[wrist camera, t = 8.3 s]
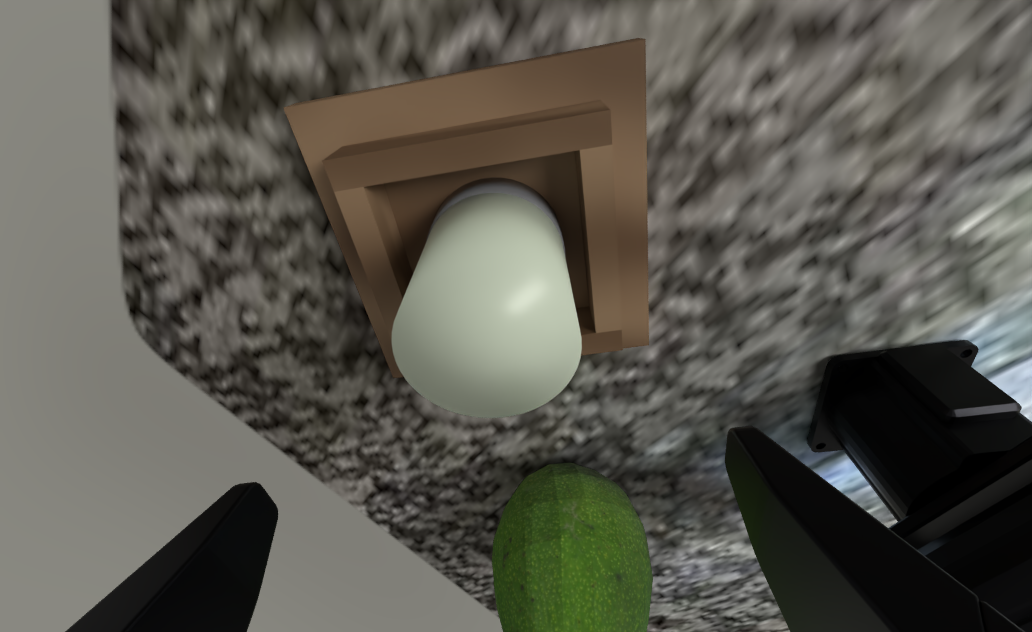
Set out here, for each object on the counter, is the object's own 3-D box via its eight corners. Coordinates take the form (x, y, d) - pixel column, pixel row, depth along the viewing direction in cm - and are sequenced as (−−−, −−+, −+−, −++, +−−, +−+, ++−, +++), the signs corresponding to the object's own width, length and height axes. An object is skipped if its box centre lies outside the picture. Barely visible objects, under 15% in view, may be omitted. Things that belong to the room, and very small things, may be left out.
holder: (643, 332, 21) (660, 373, 19) (398, 364, 23) (383, 407, 20) (638, 38, 15) (662, 41, 13) (295, 103, 16) (254, 118, 14)
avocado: (509, 422, 25) (503, 698, 15) (646, 442, 26) (731, 716, 16) (485, 510, 29) (469, 771, 19) (604, 524, 30) (649, 782, 20)
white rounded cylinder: (568, 289, 19) (591, 408, 13) (449, 305, 20) (420, 428, 14) (553, 166, 16) (573, 248, 10) (416, 189, 17) (361, 280, 11)
